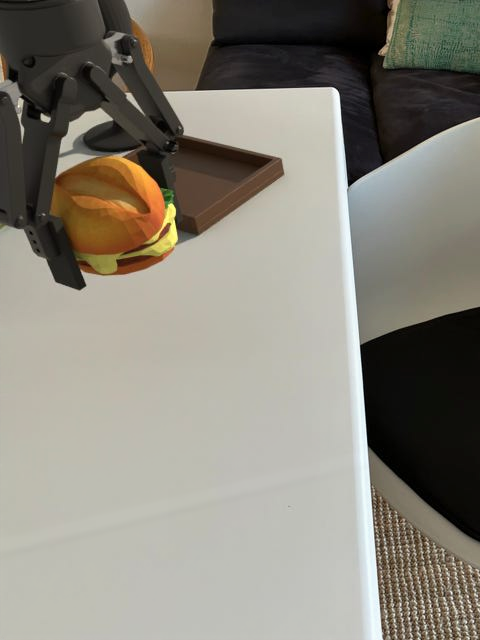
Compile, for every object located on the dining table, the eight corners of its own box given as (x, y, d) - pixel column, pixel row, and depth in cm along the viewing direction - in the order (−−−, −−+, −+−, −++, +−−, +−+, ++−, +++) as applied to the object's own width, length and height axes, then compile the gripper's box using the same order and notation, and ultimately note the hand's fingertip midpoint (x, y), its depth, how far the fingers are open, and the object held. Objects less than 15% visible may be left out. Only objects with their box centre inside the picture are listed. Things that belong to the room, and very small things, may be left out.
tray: (78, 200, 95) (72, 183, 94) (172, 146, 107) (168, 130, 105) (199, 235, 90) (194, 218, 88) (284, 174, 101) (281, 158, 99)
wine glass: (85, 157, 104) (30, -1, 91) (81, 127, 111) (29, -24, 98) (166, 144, 107) (123, -11, 94) (156, 115, 115) (116, -32, 102)
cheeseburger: (181, 209, 75) (158, 125, 67) (195, 292, 70) (171, 211, 61) (68, 225, 72) (29, 139, 64) (72, 312, 67) (31, 230, 59)
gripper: (-84, 46, 45) (47, 336, 60) (189, -48, 61) (241, 199, 76) (-168, 25, 48) (-22, 310, 62) (117, -60, 64) (180, 182, 78)
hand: (123, 249), depth 69 cm, fingers closed on cheeseburger, 11 cm apart
